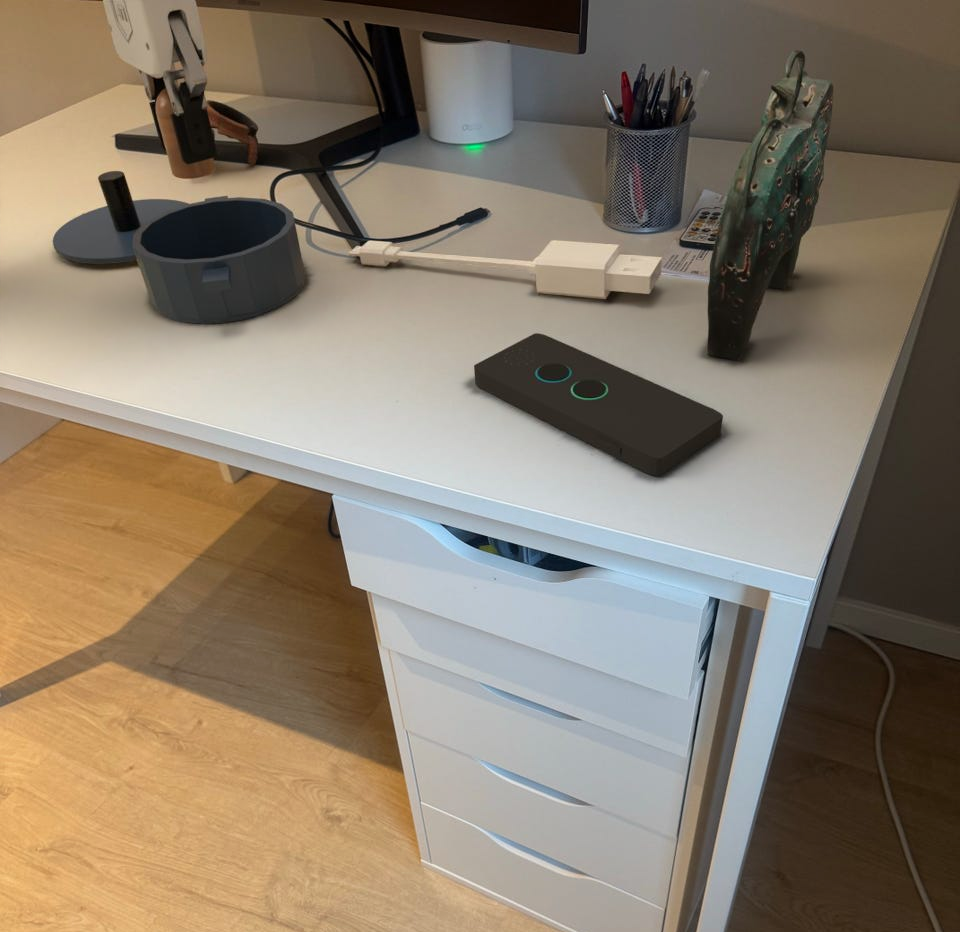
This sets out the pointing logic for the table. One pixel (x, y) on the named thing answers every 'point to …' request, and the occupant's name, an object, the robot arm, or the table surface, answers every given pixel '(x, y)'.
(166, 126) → the brown domed cylinder
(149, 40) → the robot arm
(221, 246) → the pot
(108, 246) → the lid
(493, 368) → the smart home device
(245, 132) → the orange-brown curved ring piece
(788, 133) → the dark green sculpted piece
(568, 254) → the charging cable
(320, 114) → the table surface
